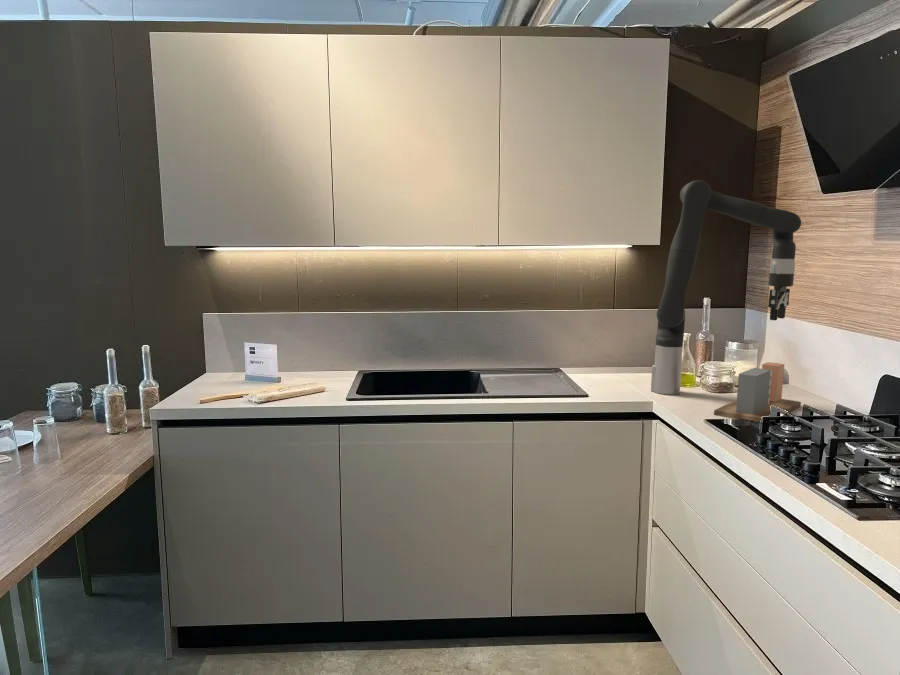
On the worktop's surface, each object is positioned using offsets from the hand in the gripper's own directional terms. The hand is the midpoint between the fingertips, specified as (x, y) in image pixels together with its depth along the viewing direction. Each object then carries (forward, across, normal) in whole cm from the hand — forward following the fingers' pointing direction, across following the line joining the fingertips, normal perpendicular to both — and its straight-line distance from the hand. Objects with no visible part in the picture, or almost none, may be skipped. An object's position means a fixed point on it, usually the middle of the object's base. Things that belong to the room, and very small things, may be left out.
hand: (777, 319), depth 214 cm
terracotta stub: (+26, +11, +3) cm, 28 cm away
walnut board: (+28, +22, +3) cm, 36 cm away
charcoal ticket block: (+26, +28, +3) cm, 39 cm away
